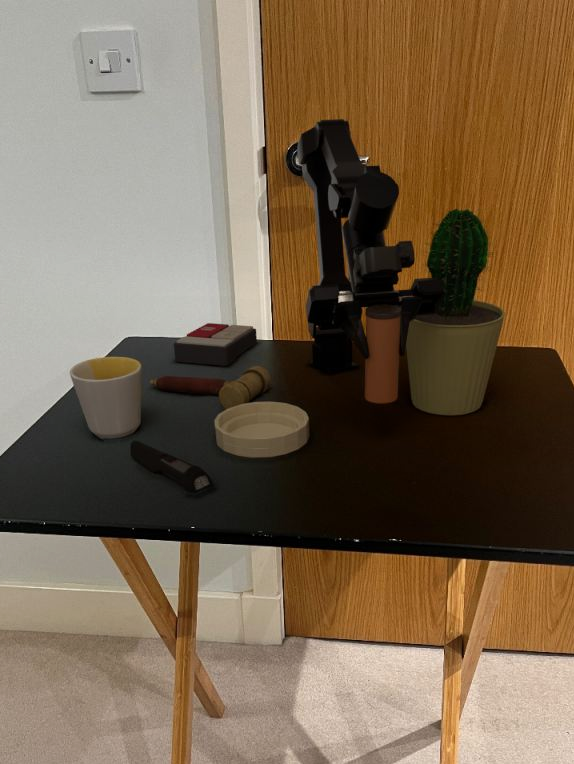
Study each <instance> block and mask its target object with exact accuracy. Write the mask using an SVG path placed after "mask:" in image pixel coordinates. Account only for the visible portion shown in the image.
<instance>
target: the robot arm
mask: <svg viewBox="0 0 574 764" xmlns="http://www.w3.org/2000/svg"><path fill="white" fill-rule="evenodd" d="M297 162H298V164H299V165H301V171H302V178H303V180H304V181H305V182H306V184H307V185H308V187H309V189H311V191H312V193H313V205H314V216H315V217H314V218H315V230H316V243H317V255H318V256H317V257H318V267H319V280H318V283H317V284H316V285H311V287H310V288H309V289H308V293H307V297H306V302H305V314H306V321H307V331H308V333H309V335H310V336H311V339H313V342H312V343H311V347H312V348H311V349H312V350H311V351H312V352H311V353H312V360H311V361H310V362H309V363H310V366H312V367H314V368H315V369H318V370H320V371H321V372H323V373H325V374H334V373H338V372H343V371H347V370H352V369H355V368H357V367H358V364H357V363H356V362H354V361H353V344H354V346H355V347H356V348H357V350H358V351H359V352H360V354H361V355H362V356H363V358H364V359H368V357H369V350H368V343H367V340H366V331H365V329H364V324H363V321H362V317H363V311H364V310H363V308H367V307H369V306H373V305H381V304H387V305H395V306H398V307H400V308H401V309H402V314H401V320H400V346H399V357H404V355H405V352H406V341H407V334H408V328H409V323H410V321H412V320H414V319H415V317H416V316H419V315H432V314H434V313H436V312H437V310H438V308H439V306H440V305H441V303H442V301H443V299H444V297H445V295H446V289H445V284H444V282H443V281H442V280H441V279H440V278H439V277H434V278H432V277H421V278H419V277H418V278H414V280H413V281H412V283H411V284H412V285H411V287H410V289H409V288H408V289H395V287H394V286H395V285H398V283H399V281H400V280H399V279H400V277H399V273H402V272H403V269H409V268H411V267H412V266H414V264H415V261H416V257H415V249H414V245H413V241H412V240H400V241H398V242H397V243H396V244H395V245H386V239H385V233H384V232H385V230H388V229H389V226H390V223H391V219H392V217H393V214H394V211H395V208H396V205H397V202H398V199H399V195H400V186H399V184H398V183H397V182H396V181H395V179H394V178H393V177H391V176H390V175H389V174H387V173H384V172H382V171H381V167H380V166H381V165H366V164H364V163H362V161H361V158H360V156H359V153H358V151H357V149H356V147H355V144H354V142H353V139H352V132H351V129H350V123H349V121H348V120H345V119H343V118H338V119H337V118H335V119H320V120H319V121H316V123H315V124H314V126H312V127H311V128H310V129H308V130H306V131H304V132H302V133H301V134H300V136H299V139H298V142H297ZM342 219H347V220H346V221H344V223H342ZM344 251H345V252H344ZM345 256H346V262H345ZM345 263H347V270H348V273H347V275H346V265H345Z"/></svg>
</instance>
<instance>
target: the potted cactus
mask: <svg viewBox="0 0 574 764" xmlns="http://www.w3.org/2000/svg"><path fill="white" fill-rule="evenodd" d="M474 207H475V205H474ZM446 210H447V213H446V212H445V211H444V213H445V214H444V213H442V215H443V216H444V217H442V220H441V221H438V222H435V221H432V225H433V226H435V227H437V229H436V230H435V231H434V230H432V231H430V233H431V235H432V240H431V242H427V241H426V242H423V244H425V245H426V246H429V251H428V252H427V251H425V250H423V252H424V253H427V254H428V255H426V254H424V256H425V257H427V260H426V263H423V267H425V268H426V269H425V271H427V270H428V271H427V272H426V274H427V273H428V275H426V277H429V278H434V277H439V278H440V279H441V280H442V281H443V282H444V284H445V289H446V295H445V297H444V299H443V301H442V303H441V305H440V306H439V308H438V310H437V312H436V313H434V314H432V315H419V316H416V317H415V319H414V320H412V321H410V323H409V328H408V334H407V341H406V347H405V350H406V357H407V368H408V369H407V370H408V378H409V387H410V398H411V403H412V405H413V406H414V407H415V408H416V409H418V410H420V411H422V412H425V413H428V414H433V415H439V416H461V415H467V414H470V413H474V412H475V411H477V410H479V409H480V408H481V407H482V404H483V402H484V398H485V394H486V391H487V388H488V387H487V386H488V383H489V379H490V374H491V372H492V371H491V370H492V367H493V363H494V358H495V355H496V352H497V348H498V343H499V340H500V335H501V332H502V328H503V325H504V318H505V315H506V312H505V310H504V309H503V308H501V307H499V306H497V305H495V304H493V303H489V302H485V301H481V300H477V298H476V299H475V297H476V292H477V290H478V291H479V293H481V292H483V291H484V290H482V289H480V288H479V286H478V281H480V282H482V280H483V279H481V278H483V276H482V275H481V273H483V274H484V275H485V273H486V272H487V273H489V272H491V270H489V268H490V269H491V267H490V266H488V265H487V264H488V258H494V255H493V254H494V253H495V252H494V251H490V249H489V246H490V247H491V246H492V247H493V244H494V242H491V243H489V238H491V236H489V235H490V234H491V233H492V231H493V230H491V231H490V232H489V233H487V230H485V229H486V227H488V226H487V225H488V224H486V225H485V227H484V218H481V219H480V218H479V215H480V213H478V214H477V215H475V214H474V213H475V209H474V208H473V209H472V211H471V210H470V209H469V206H468V208H466V209H462V208H461V209H460V208H459V207H457V208H453V205H451V206H450V210H448V208H446ZM490 229H491V228H489V229H488V230H490ZM486 269H487V270H488V271H486V272H485V270H486ZM429 274H430V276H429ZM479 278H480V279H479Z"/></svg>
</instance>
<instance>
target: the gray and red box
mask: <svg viewBox="0 0 574 764" xmlns="http://www.w3.org/2000/svg"><path fill="white" fill-rule="evenodd" d="M257 339H258V337H257V328H254V326H252V325H243V324H242V325H240V324H230V325H229V324H228V323H227V324H225V323H213V322H212V323H211V322H207V323H205V324H204V325H201V326H199V327H198V328H196V329H194V330H192V331H190V332H188V333H186V335H185V336H183V337H181V338H179V339H177V340H176V341H175V342H173V351H174V360H175V362H177V363H189V364H197V365H198V364H200V365H209V366H221V367H228V366H230V365H231V364H232V363H234V362H236V360H237V358H238V357H239V356H240V355H242V354H243V353H244V352H246V351H247V350H249V349H251V348H252V347H253V346H255V345H256V344H257Z"/></svg>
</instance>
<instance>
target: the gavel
mask: <svg viewBox="0 0 574 764" xmlns="http://www.w3.org/2000/svg"><path fill="white" fill-rule="evenodd" d="M271 382H272V381H271V375H270V373H269V372H268V371H267V369H265V368H264V367H263V366H260V365H253V366H251V367H249V368H248V369H246V370H245V371H244V372H243V373H242V375H241V376H240V377H239V378H237V379H235V380H224V379H220V378H208V377H192V376H191V377H189V376H174V375H165V376H162V377H161V376H160V377H158V378H155V379H151V380H150V381H149V385H151V386H155V387H156V388H158V389H160V390H162V391H164V392H177V393H191V394H206V395H218V400H219V402H220V405H221V406H222V408H224V409H225V410H226V409H228V408H231V407H234V406H238V405H241V404H246V403H250V401H252V400H253V399H254V398H255V397H257V396H258V395H259V394H264V393H265V392H266V391H267V390H268V389H269V388H270V386H271V384H272V383H271Z"/></svg>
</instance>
